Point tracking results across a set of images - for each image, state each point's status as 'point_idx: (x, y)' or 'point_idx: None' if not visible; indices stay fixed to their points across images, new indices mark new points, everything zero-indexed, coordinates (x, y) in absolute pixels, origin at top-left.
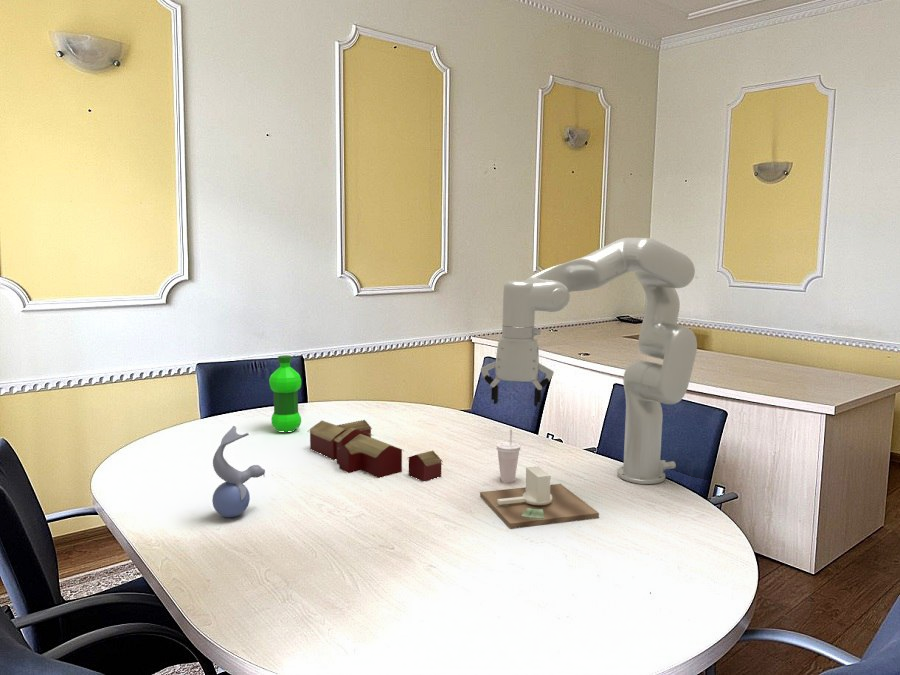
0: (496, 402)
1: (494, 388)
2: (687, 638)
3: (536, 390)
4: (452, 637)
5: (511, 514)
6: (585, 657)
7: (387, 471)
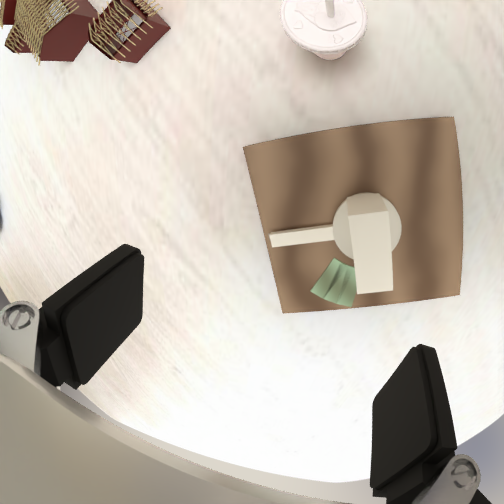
0: (136, 324)
1: (68, 380)
2: (369, 473)
3: (379, 494)
4: (205, 442)
5: (293, 278)
6: (290, 472)
7: (78, 45)
